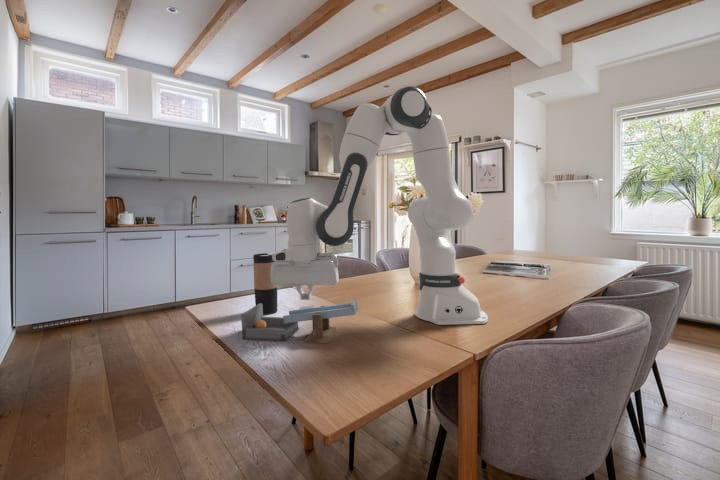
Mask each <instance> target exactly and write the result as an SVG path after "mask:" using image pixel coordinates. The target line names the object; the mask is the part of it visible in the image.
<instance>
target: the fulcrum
mask: <svg viewBox="0 0 720 480" xmlns="http://www.w3.org/2000/svg"><path fill="white" fill-rule="evenodd" d="M324 306H325V305H321V306H319V307H324ZM311 322H312V324H311V325H312V331H311V332H310V333H309V334H308V335H307V337H305V343H314V344H315V343H316V344H317V343H318V344H328V343H329V341H330V340H331V339H332V337H333V336H334V334H335V332H336V331H337V327H336V326H330V318H325V319H322V314H313V315H312V320H311Z"/></svg>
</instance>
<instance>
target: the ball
mask: <svg viewBox="0 0 720 480" xmlns="http://www.w3.org/2000/svg"><path fill="white" fill-rule="evenodd" d="M255 328H266V322H265V321H264V320H258V321H257V322H256V323H255Z"/></svg>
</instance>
